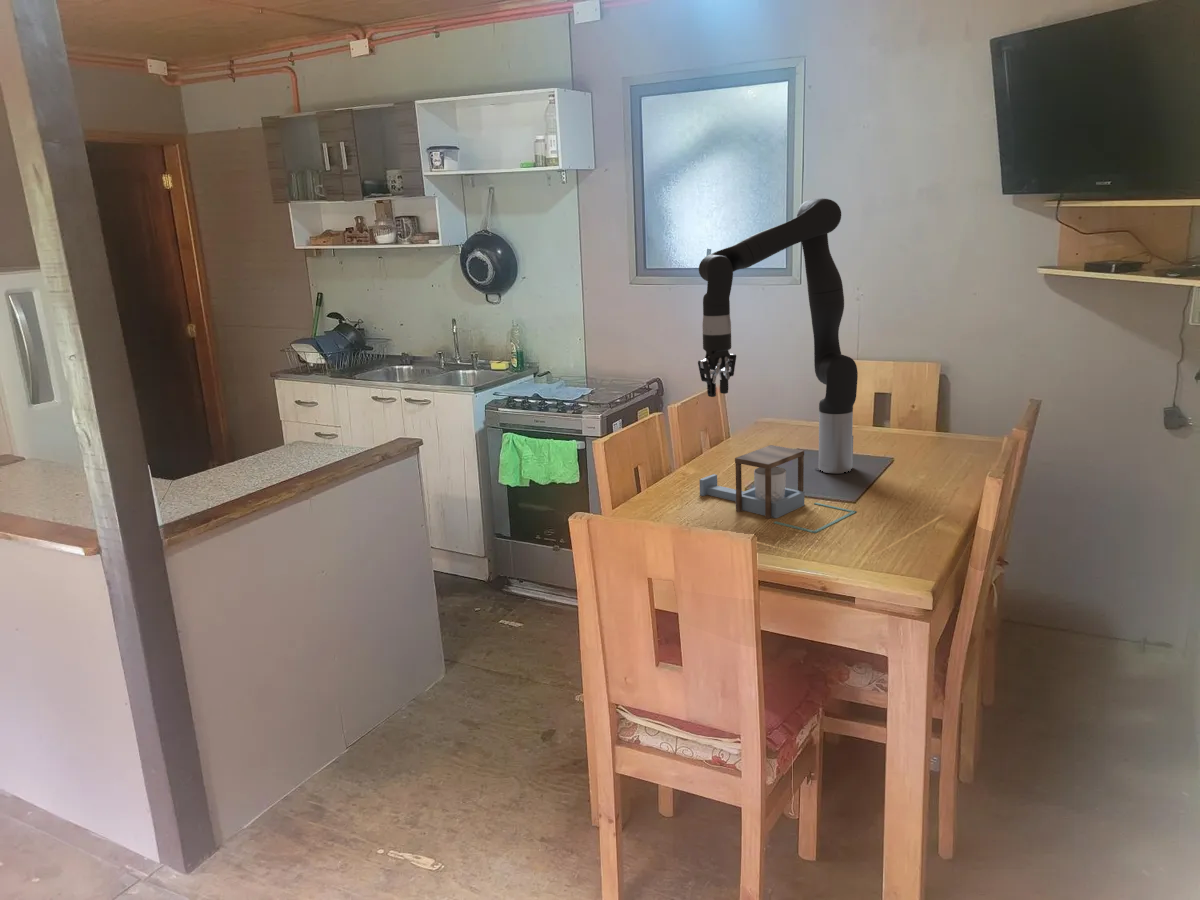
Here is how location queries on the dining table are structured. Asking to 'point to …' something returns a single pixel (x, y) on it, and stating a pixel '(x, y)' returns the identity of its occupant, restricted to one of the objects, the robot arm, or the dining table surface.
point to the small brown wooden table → (768, 469)
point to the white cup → (776, 483)
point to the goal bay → (824, 525)
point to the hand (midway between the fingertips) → (718, 394)
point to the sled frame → (753, 498)
